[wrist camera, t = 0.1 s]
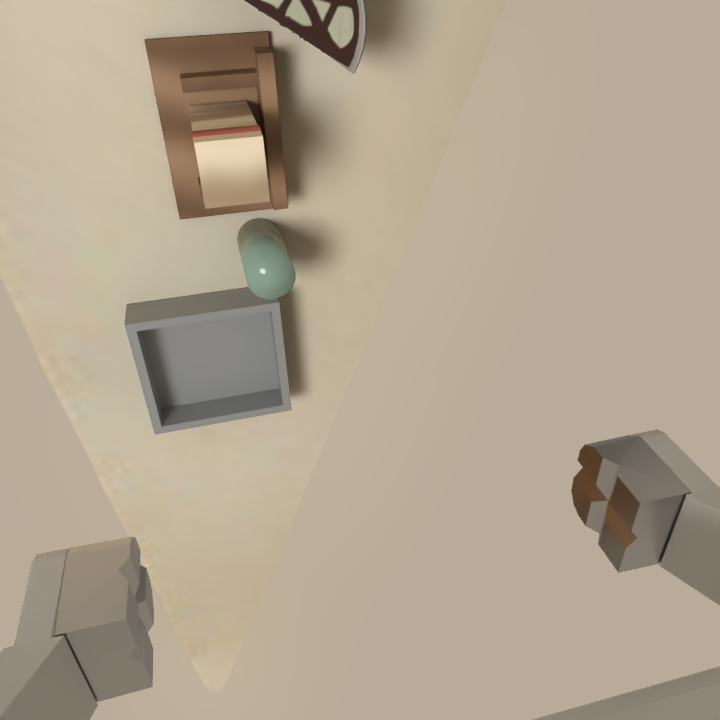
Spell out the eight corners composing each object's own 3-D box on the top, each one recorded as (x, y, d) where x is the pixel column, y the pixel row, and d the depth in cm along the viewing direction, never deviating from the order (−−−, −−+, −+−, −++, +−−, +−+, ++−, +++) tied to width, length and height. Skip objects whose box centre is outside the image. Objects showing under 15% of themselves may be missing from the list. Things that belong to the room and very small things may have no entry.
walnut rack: (144, 39, 48) (143, 46, 45) (267, 31, 50) (273, 37, 47) (179, 216, 56) (180, 232, 53) (284, 204, 58) (290, 219, 55)
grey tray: (126, 304, 59) (124, 325, 56) (273, 283, 62) (279, 302, 59) (155, 411, 66) (155, 434, 63) (285, 388, 69) (291, 409, 66)
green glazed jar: (234, 221, 58) (243, 258, 51) (278, 215, 58) (293, 251, 52) (240, 261, 60) (249, 302, 53) (283, 256, 61) (297, 295, 54)
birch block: (187, 104, 51) (193, 142, 42) (246, 99, 52) (263, 135, 43) (197, 162, 53) (204, 209, 45) (253, 156, 54) (270, 201, 45)
